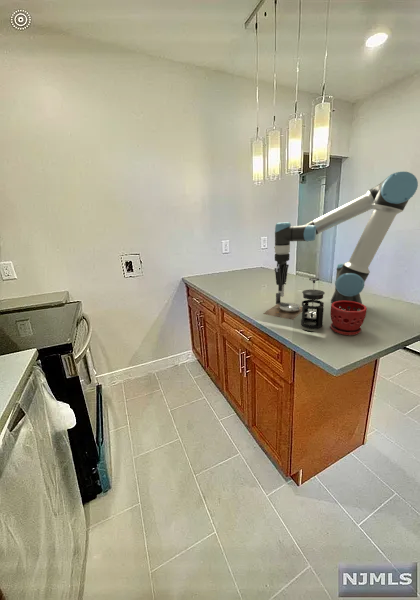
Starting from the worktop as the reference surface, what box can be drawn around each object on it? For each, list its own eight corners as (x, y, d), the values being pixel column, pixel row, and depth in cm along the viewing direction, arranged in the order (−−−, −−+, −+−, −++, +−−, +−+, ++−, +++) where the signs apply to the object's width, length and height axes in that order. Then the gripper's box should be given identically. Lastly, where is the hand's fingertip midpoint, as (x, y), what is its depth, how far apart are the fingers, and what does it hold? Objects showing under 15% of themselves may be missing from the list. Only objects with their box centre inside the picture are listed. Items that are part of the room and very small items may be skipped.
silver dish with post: (302, 308, 132) (303, 293, 130) (295, 314, 125) (295, 298, 122) (279, 304, 140) (280, 290, 137) (271, 309, 133) (272, 295, 130)
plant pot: (323, 331, 108) (325, 305, 105) (338, 322, 116) (340, 298, 112) (354, 341, 98) (358, 313, 95) (368, 331, 106) (372, 304, 102)
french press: (295, 324, 117) (297, 277, 110) (313, 321, 118) (316, 274, 111) (310, 335, 106) (313, 283, 99) (329, 331, 107) (334, 280, 100)
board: (306, 310, 133) (306, 307, 133) (292, 322, 119) (293, 319, 119) (278, 305, 143) (278, 303, 142) (262, 316, 129) (262, 313, 129)
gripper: (280, 251, 137) (279, 292, 144) (269, 254, 127) (269, 298, 135) (293, 251, 132) (292, 293, 139) (283, 255, 123) (282, 300, 130)
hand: (281, 296), depth 137 cm, fingers closed
